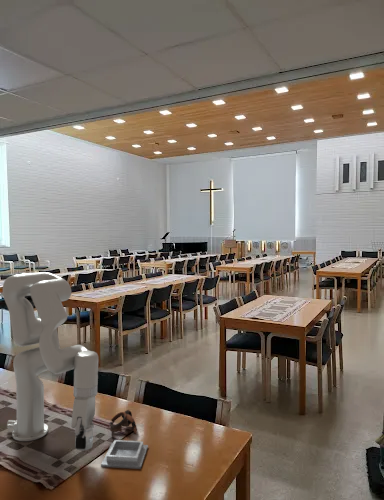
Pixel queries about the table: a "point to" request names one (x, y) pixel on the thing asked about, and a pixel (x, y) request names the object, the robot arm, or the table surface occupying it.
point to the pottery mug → (123, 422)
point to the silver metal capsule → (87, 436)
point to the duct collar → (125, 454)
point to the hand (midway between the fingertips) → (83, 442)
